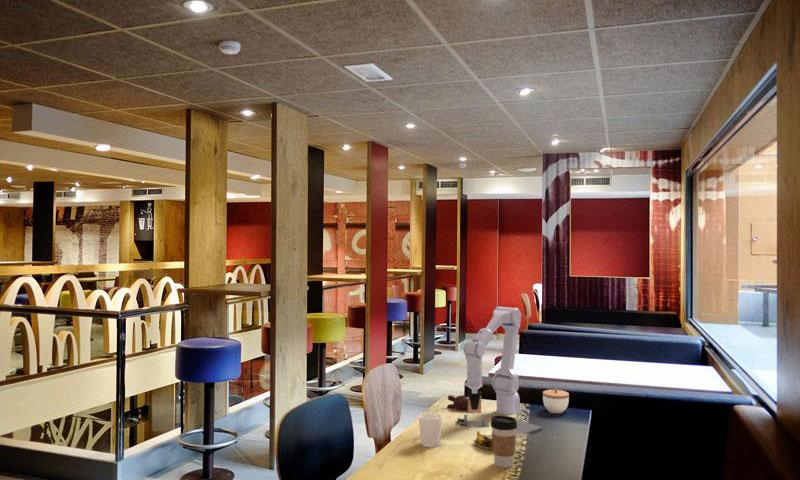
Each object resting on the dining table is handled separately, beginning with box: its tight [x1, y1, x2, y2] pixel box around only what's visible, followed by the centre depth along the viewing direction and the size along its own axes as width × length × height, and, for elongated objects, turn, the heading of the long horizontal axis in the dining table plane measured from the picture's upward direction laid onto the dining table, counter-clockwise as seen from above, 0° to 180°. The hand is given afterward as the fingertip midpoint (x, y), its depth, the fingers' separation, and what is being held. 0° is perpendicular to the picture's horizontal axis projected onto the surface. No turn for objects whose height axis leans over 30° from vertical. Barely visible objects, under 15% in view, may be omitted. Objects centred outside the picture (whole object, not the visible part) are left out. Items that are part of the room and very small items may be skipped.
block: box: [467, 395, 482, 414], centre depth 233 cm, size 5×4×6 cm
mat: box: [516, 420, 543, 435], centre depth 229 cm, size 11×11×1 cm
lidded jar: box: [542, 388, 570, 414], centre depth 253 cm, size 11×11×9 cm
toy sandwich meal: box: [473, 430, 493, 451], centre depth 211 cm, size 12×14×5 cm
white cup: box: [418, 412, 442, 449], centre depth 212 cm, size 8×8×10 cm
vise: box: [456, 414, 490, 428], centre depth 233 cm, size 12×7×4 cm, turn 83°
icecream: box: [446, 394, 468, 412], centre depth 253 cm, size 7×7×15 cm
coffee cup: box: [490, 415, 517, 469], centre depth 193 cm, size 8×8×15 cm
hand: (474, 407), depth 233 cm, fingers closed on block, 4 cm apart
